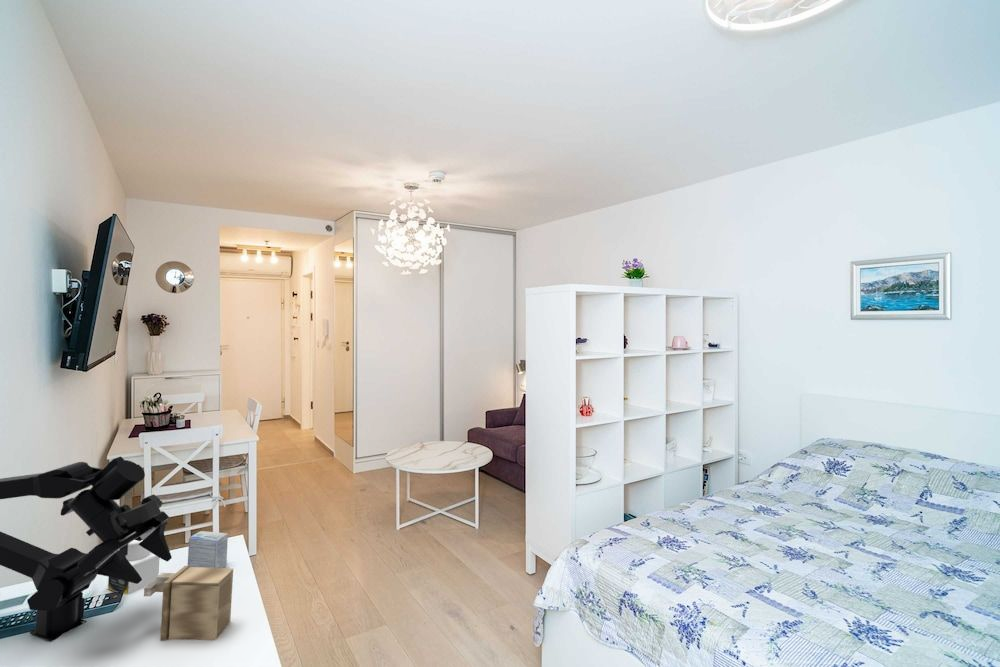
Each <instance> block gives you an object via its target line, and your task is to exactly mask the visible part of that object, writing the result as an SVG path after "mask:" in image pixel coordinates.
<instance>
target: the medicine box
mask: <svg viewBox="0 0 1000 667" xmlns="http://www.w3.org/2000/svg"><path fill="white" fill-rule="evenodd" d="M228 536H229V534H228V533H225V532H216V531H207V530H205V531H204V530H200V531H198V532H196V533H195V534H193V535H191V536H190V537H188V548H187V549H188V550H187V551H188V552H187V566H190V567H204V568H225V567H226V566H227V564H228V560H227V559H228V540H229V538H228ZM225 565H226V566H225ZM224 566H225V567H224Z"/></svg>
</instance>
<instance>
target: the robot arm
mask: <svg viewBox="0 0 1000 667" xmlns="http://www.w3.org/2000/svg"><path fill="white" fill-rule="evenodd" d="M145 474H146V473H145V470H144V468H143V467H142V466H141V465H140V464H137V463H135V461H131V460H129V459H128V460H127V459H124V457H122V456H118V457H115V458H112V459H111V460H110V461H109V462H108V463H107V465H106V466H105V467H104V468H100V467H99V468H98V467H95V466H90V465H89V464H88V462H85V461H77V462H75V463H71V464H67V465H64V466H62V467H61V466H60V467H58V468H55V469H51V470H47V471H45V472H41V473H32V474H26V475H17V476H10V477H2V478H0V500H6V499H12V498H13V499H14V498H22V497H29V496H35V497H39V498H41V499H62V498H65V497H68V496H70V495H72V494H75V493H78V492H79V493H78V494H77V495H76V496H74V497H70V498H68V499H66V500H63V502H62V507H61V510H60V516H62V517H64V516H65V515H68V514H70V513H72V512H74V513H75V514H76V515H77V516H78V517H79V518H80V520H82V522H83V523H84V524H86V526H87V527H88V528H89V529H88V530H87V531H86V532H85V533H86V534H87V535H88V537H91V536H93V535H96V536H97V538H98V539H99V540H100V541H101V542H100V543H99V544H97V545H96V546H94V547H93V548H92V549H90V550H89V552H87V553H85V552H82V551H81V550H79V549H77V548H74V547H70V548H68V549H66V550H64V551H63V552H61V553H54V552H50V551H48V550H46V549H43V548H41V547H38V546H36V545H34V544H31V543H29V542H28V541H24V540H21V539H19V538H17V537H14V536H12V535H9V534H7V533H5V532H3V531H0V566H1V567H4V568H6V569H9V570H11V571H13V572H16V573H18V574H21V575H24V576H25V577H28V578H30V579H31V580H32V582H33V584H34V587H35V590H36V592H35V593H33V594H32V595H31V596H29V598H28V599H27V606H28V607H29V610H30V611H36V618H35V628H34V629H31V630H30V631H29V635H31V636H34V637H36V638H40V639H42V640H45V641H47V642H53V641H55V640H57V639H59V638H60V637H62V635H64V634H65V633H68V632H70V631H72V630H73V629H76V628H78V627H79V626H82V625H84V624H85V623H87V622H88V621H87V620H86V619H83V618H84V616H85V600H86V599H85V598H84V597H83V596H84V593H83V592H84V591H85V590H88V589H89V588H90V585H91V583H92V582H93V581H94V580H95V579H96V577H97V576H98V575H99V576H104V577H108V578H109V577H113V578H117V579H121V580H124V581H128V582H132V583H135V584H138V583H139V582H140V581H142V578H141V577H140V575H139V573H138V572H137V571H136V570H135V568H134V567H133V566H132V565H131V564H130V562H129V561H128V560H127V559H126V549H125V547H124V548H122V547H123V546H125V545H127V544H128V543H130V542H132V541H133V540H137V541H141V540H143V541H142V542H141V543H139V545H140V546H141V547H143V548H145V549H146V550H148V551H150V552H151V553H153V554H154V555H156V556H158V557H159V559H160V560H163V561H165V562H169V561H170V560H171V559H172V557H173V556H172V554H171V551H170V549H169V546H168V543H167V541H166V536H165V530H166V526H167V525H168V520H169V519H170V516H169V515H168V514H167V513H166V512H165V511H163V510H161V509H160V508H161V507H162V504H163V501H162V500H161V499H160V498H159V496H157V495H155V494H154V493H153V494H151V495H149V496H145V497H144V498H142V499H141V504H139V505H137V506H134V507H131V506H130V505H128V504H124V505H122V506H120V505H119V504H118V502H116V501H119V500H121V499H122V498H123V497H124V496H125V495H127V494H128V493H129V492H130V491H131V490H132V489H133V488H135V487H136V486H137V485H138V484H140V483H141V481H142V480H144V479H145V477H146V476H145ZM90 486H92V487H91V488H90V489H87V488H89V487H90ZM120 548H122V549H121V550H120Z"/></svg>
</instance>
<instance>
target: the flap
mask: <svg viewBox="0 0 1000 667" xmlns="http://www.w3.org/2000/svg"><path fill="white" fill-rule="evenodd" d="M189 567H190V566H188V565H184V566H183V567H181V568H180V569H179V570H177V572H161V573H159V576H157V578H156V580H154V581H153V582H152V583H150V584H149V585H147V586H145V587H143V588H144V589H143V590H144V591H143V597H152V595H154V594H155V593H162V601H161V602H162V604H161V619H160V620H161V622H160V639H159V640H160V641H167V639H169V625H170V607H171V589H172V581H173V580H175V579H176V578H177V577H178V576H179V575H181V574H182V573H183V572H184V571H186V570H187V569H188V568H189Z"/></svg>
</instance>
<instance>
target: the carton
mask: <svg viewBox="0 0 1000 667" xmlns="http://www.w3.org/2000/svg"><path fill="white" fill-rule="evenodd" d="M233 578H234V568H230V567H223V568H204V567H189V568H188V569H187V570H186V571H184V572H183V573H182V574H181V575H179V576H178V577H177V578H176V579H175V580H173V581H172V589H171V607H170V625H169V637H168V640H187V641H189V640H191V641H216V640H217V639H218V638H219V636H220V635H221V634H222V633H223V632H224V631H225V629H226V628H227V627H228V626H229V624H231V618H232V617H231V615H232V599H233V595H232V594H233V580H234V579H233Z"/></svg>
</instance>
